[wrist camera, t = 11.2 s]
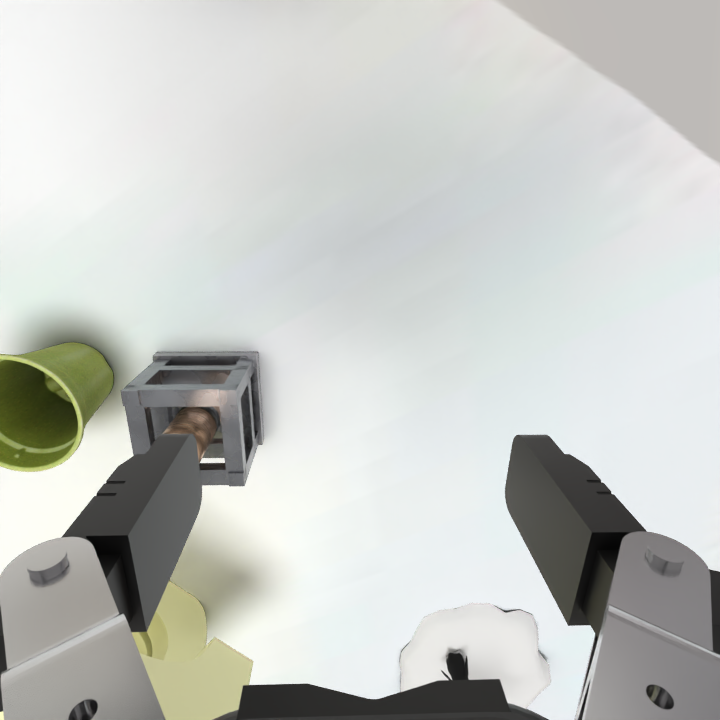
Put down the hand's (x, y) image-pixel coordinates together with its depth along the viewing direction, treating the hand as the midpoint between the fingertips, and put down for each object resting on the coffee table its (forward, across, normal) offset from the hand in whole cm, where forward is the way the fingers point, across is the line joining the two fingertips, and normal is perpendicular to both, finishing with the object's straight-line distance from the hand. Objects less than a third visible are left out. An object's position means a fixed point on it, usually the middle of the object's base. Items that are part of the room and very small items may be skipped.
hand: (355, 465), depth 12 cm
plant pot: (+30, +24, +10) cm, 39 cm away
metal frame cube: (+29, +12, +12) cm, 34 cm away
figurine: (+29, -16, +48) cm, 58 cm away
